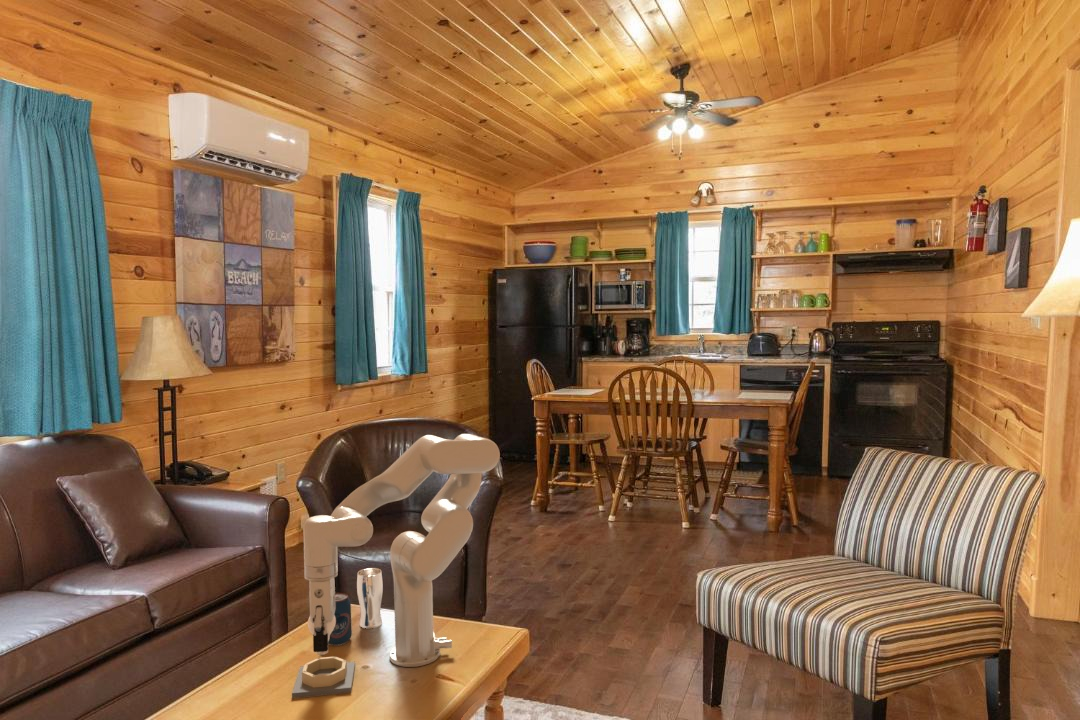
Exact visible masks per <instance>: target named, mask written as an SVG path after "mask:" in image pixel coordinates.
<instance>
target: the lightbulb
mask: <svg viewBox="0 0 1080 720" xmlns="http://www.w3.org/2000/svg"><path fill="white" fill-rule="evenodd" d="M322 611H323V608H322ZM322 621H325V618H322ZM335 625H336V618H335V615H334V617H333V620H332V621H331V622H329V621H327V631H326V633H328V641H329V638H330V634H331V633H332V631H333V629H334V627H335ZM322 626H323V628H324V624H322ZM307 627H308V630H309V632H310V633H311V635H312V636H313V634H314V623H312V622H311V620H310V616H309V617H308V620H307ZM328 653H329V649H328V650H327V651H324V652H316V655H319V656H321V657H322V656H325V655H327V654H328Z"/></svg>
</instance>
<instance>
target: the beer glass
mask: <svg viewBox="0 0 1080 720" xmlns="http://www.w3.org/2000/svg"><path fill="white" fill-rule="evenodd" d="M356 577H357V579H356V589H357V590H356V593H357V599H358V603H359V607H360V620H359V627H360V628H361V627H362V628H361V629H365V628H366V629H365V630H372V628H373V629H377V628H379V627H381V626H382V624H383V621H382V614H381V606H382V600H383V599H382V598H383V590H384V588H383V587H384V586H383V575H382V570H381V569H379V568H378V567H377V568H376V567H368V568H363V569H360V570H359V571H358V572H357V576H356ZM380 625H381V626H380ZM376 627H377V628H376Z"/></svg>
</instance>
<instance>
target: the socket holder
mask: <svg viewBox="0 0 1080 720" xmlns="http://www.w3.org/2000/svg"><path fill="white" fill-rule="evenodd" d="M355 669H356V661H347V660H346V659H343V658H341V657H338V656H326V657H317V658H315V659H313V660H311V661H308V662H306V663H305V664H303V665H301V666H300V667H299V670H298V673H297V676H296V679H295V682H294V684H293V689H292V691H291V699H300V698H309V697H319V696H320V697H321V696H330V695H338V694H339V695H341V694H349V693H352V690H353V689H352V688H353V682H354V677H355V671H356V670H355Z"/></svg>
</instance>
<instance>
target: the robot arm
mask: <svg viewBox="0 0 1080 720" xmlns="http://www.w3.org/2000/svg"><path fill="white" fill-rule="evenodd" d="M500 455H501V453H500V449H499V447H498V445H497V443H495V442H494V441H493V440H491V439H490V438H486V437H483V436H479V435H476V434H473V433H472V434H471V433H461V434H459V435H457V436H456V437H455V438H454V439H448V438H447V439H446V438H443V437H439V436H436V435H433V434H426V435H423V436H421V437H420V438H418V439H417V440H416V441H415V442H414V443H413V444H412V445H410V446H409V447H408V449H406V450H405V451H404V452H403V453H402V455H400V456H399V457H397V459H396V460H395V461H393V463H392V464H391V465H390V466H389V467H388V468H387V469H385V470H384V471H383V472H381V474H379V475H377V476H375V477H373V478H372V479H370V480H369V481H367V482H365V483H363V484H361V485H360V486H358V487H357V488H355V490H353V491H352V492H350V494H349V495H347V497H345V498H344V499H343V500H342V501H341V502H340V503H339V504H338V505H337V506H336V507H335V508H334V510H333V511H332V513H331V514H330V515H325V514H320V515H314V516H310V517H308V518H307V519H306V520H304V523H303V563H304V564H303V567H304V571H303V572H304V574H303V575H304V579H305V580H306V581H309V588H308V589H309V617H310V620H311V622H312V623H314V634H313V635H312V642H313V643H312V644H313V649H312V650H313V652H314V653H317V652H324V651H327V650H328V651H329V644H328V633H326V631H327V621H329V622H331V621H332V620H333V617H334V613H335V609H336V602H335V593H336V591H335V590H336V587H335V578H336V577H338V574H339V573H338V572H339V567H338V566H339V563H338V562H339V561H338V548H344V547H345V548H352V547H353V548H354V547H360V546H362V545H365V544H366V543H368V541H370V540H371V538H372V536H373V533H374V526H373V524H372V521H371V520H370V519H369V518H368V517H367V516H369V515H370V514H371V513H372V512H374V511H375V510H376V509H378V508H380V507H382V506H384V505H386V504H388V503H393V502H397V501H402V500H404V499H407V498H409V496H411V495H412V493H413V492H414V491H416V490H417V488H418V487H419V486H421V484H422V483H424V481H425V480H426V479H427V478H428V477H430V476H431V475H432V474H433V472H434V473H436V474H440V475H449V478H448V479H447V481H446V482H445V484H444V485H443V486H442V487H441V489H440V490H439V491H438V492H437V493H436V494H435V496H434V497H433V498H432V499H431V501H430V502H429V503H428V505H427V506H426V507H425V508H424V510H423V511H422V514H421V518H420V520H421V525H422V527H423V528H424V530H426V532H428V533H427V535H426V536H425V535H424V534H422V533H420V532H417V531H412V530H407V531H404V532H401V533H400V534H399V535H397V536H396V537H395V538H394V540H393V541H392V544H391V546H390V551H389V556H390V557H389V558H390V565H391V571H392V578H393V595H394V596H393V599H394V600H393V601H394V602H393V603H394V635H395V636H394V639H395V646H394V647H392V649H391V650H390V651H389V660H390V661H391V663H392V664H394V665H396V666H399V667H404V668H405V667H406V668H415V667H422V666H426V665H428V664H432V663H434V662H435V661H436V660H437V659H438V658H439V657H440V655H441V649H452V647H453V642H452V639H447V637H446V636H445V637H444V636H443V637H437V636H436V635H435V634H436V633H435V632H434V612H433V611H434V601H433V599H434V598H433V594H434V593H433V580H436V579H437V578H438V577H439V576H440V575H442V574H443V572H444V571H445V570H447V568H448V567H449V565H450V564H451V563H452V562H453V560H455V558H456V556H457V555H458V554H459V553H460V551H461V550H462V548H463V547H464V546H465V545H466V543H467V542H468V540H469V539H470V537H471V535H472V532H473V527H474V519H473V516H472V514H471V512H470V511H469V510H468V508H469V507H471V505H472V503H473V501H474V500H475V499H476V497H477V495H478V493H479V491H480V488H481V485H482V476H483V475H482V474H484V473H487V472H489V471H491V470H493V469H494V468H495V467H496V466H497V465H498V463H499V461H500V458H501V457H500ZM322 608H323V611H322ZM322 618H325V621H322ZM322 624H324V628H323V626H322ZM330 638H331V634H330ZM330 638H329V639H330Z"/></svg>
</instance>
